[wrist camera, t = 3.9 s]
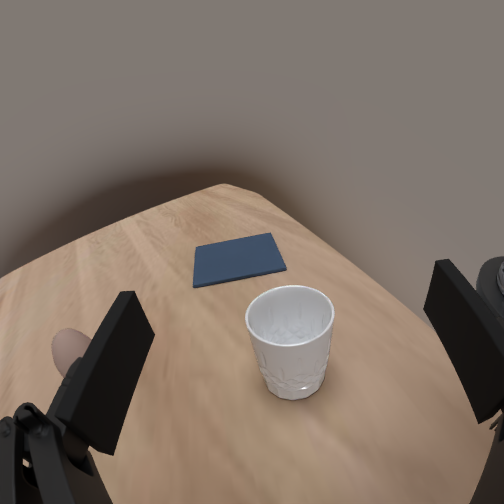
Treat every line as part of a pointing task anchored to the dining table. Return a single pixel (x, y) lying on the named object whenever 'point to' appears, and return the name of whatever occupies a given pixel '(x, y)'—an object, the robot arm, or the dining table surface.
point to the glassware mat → (236, 260)
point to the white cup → (291, 338)
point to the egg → (68, 348)
